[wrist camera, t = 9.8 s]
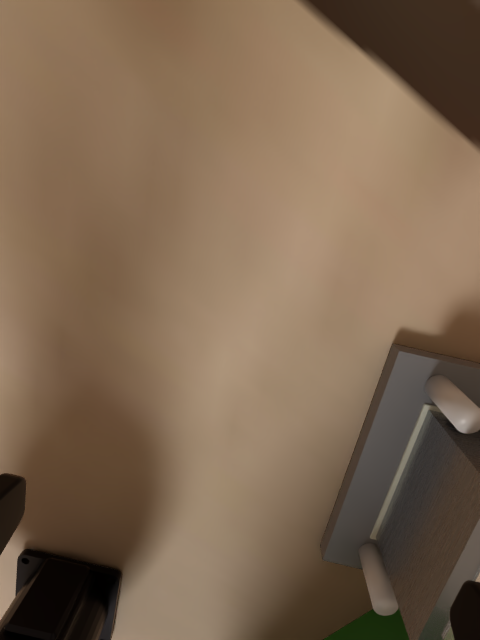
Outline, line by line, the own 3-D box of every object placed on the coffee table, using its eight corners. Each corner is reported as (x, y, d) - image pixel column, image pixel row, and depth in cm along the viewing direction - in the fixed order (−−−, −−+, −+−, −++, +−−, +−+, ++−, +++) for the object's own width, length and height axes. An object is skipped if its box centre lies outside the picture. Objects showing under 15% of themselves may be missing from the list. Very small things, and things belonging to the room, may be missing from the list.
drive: (456, 555, 21) (523, 678, 15) (375, 537, 21) (413, 652, 15) (522, 426, 18) (628, 517, 13) (430, 405, 18) (498, 487, 13)
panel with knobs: (469, 579, 22) (511, 656, 19) (320, 545, 22) (330, 614, 19) (572, 384, 19) (651, 430, 15) (392, 343, 19) (424, 378, 15)
